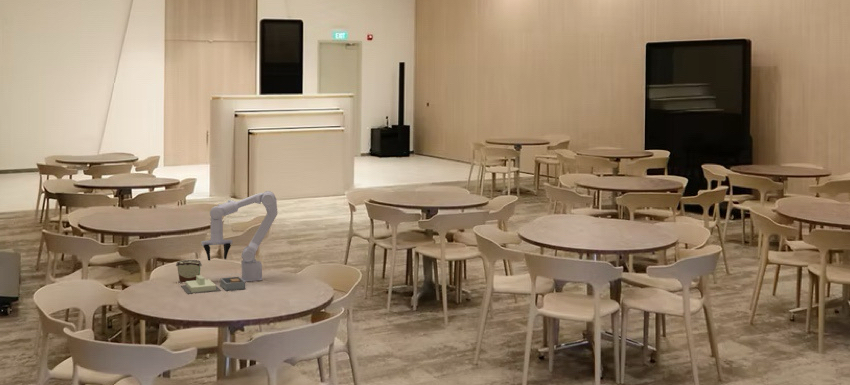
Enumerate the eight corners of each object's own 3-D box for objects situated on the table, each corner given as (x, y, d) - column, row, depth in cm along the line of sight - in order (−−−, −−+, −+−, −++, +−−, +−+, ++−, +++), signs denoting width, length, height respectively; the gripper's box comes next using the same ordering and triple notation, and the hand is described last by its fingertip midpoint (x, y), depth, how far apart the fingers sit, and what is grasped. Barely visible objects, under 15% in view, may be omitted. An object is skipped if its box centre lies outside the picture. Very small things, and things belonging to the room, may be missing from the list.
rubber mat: (212, 283, 442) (212, 282, 442) (221, 290, 425) (221, 290, 425) (180, 286, 436) (180, 285, 436) (187, 294, 419) (187, 293, 419)
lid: (209, 283, 439) (209, 272, 439) (215, 290, 426) (215, 278, 425) (185, 285, 435) (185, 274, 434) (191, 292, 421) (191, 281, 421)
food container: (205, 280, 449) (205, 259, 448) (201, 282, 443) (200, 262, 442) (181, 279, 450) (180, 259, 449) (176, 282, 444) (175, 261, 443)
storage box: (239, 283, 440) (238, 276, 440) (245, 289, 429) (245, 281, 428) (220, 285, 437) (220, 278, 436) (226, 291, 425) (226, 283, 425)
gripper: (202, 233, 437) (203, 262, 439) (233, 231, 443) (234, 260, 445) (200, 231, 444) (200, 259, 445) (230, 229, 450) (230, 257, 451)
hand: (217, 259), depth 445 cm, fingers open, 7 cm apart
